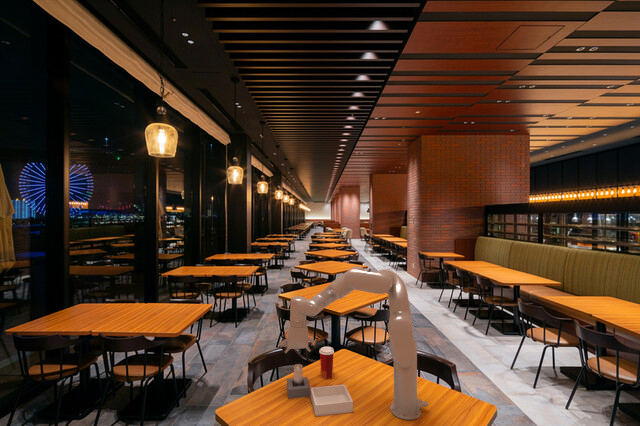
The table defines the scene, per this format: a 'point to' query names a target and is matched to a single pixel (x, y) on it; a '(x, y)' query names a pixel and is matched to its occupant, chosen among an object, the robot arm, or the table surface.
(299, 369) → the pin
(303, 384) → the block
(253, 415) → the table surface
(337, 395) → the tray
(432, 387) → the table surface
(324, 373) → the paper cup
